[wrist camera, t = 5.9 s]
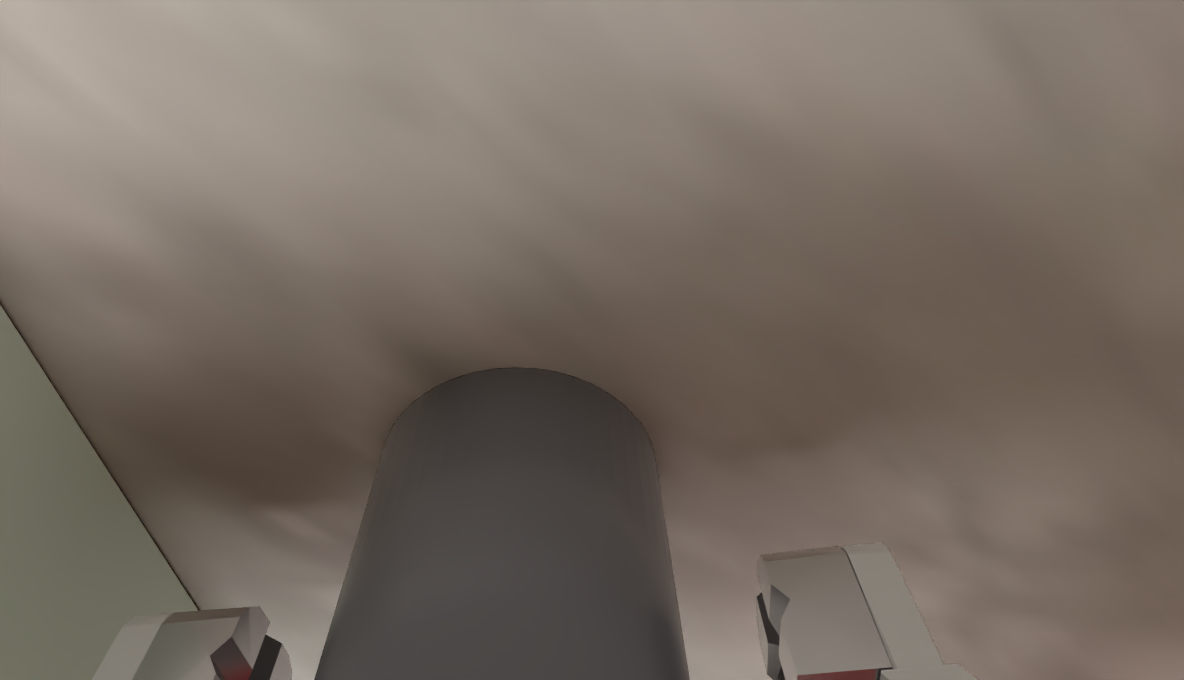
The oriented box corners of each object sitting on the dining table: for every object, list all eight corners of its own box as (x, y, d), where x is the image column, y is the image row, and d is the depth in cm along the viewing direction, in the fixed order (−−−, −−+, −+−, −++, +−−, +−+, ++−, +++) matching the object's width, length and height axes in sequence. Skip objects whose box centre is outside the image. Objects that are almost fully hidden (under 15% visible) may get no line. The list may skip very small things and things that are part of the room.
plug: (646, 352, 10) (745, 927, 5) (663, 555, 12) (743, 1099, 7) (347, 385, 10) (104, 981, 5) (419, 580, 13) (309, 1132, 7)
